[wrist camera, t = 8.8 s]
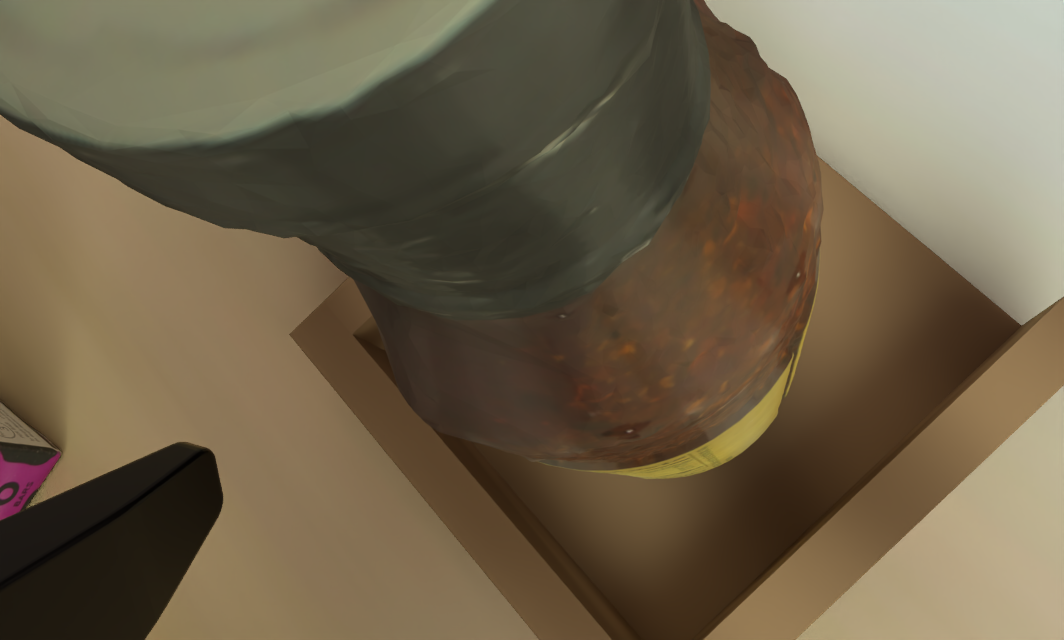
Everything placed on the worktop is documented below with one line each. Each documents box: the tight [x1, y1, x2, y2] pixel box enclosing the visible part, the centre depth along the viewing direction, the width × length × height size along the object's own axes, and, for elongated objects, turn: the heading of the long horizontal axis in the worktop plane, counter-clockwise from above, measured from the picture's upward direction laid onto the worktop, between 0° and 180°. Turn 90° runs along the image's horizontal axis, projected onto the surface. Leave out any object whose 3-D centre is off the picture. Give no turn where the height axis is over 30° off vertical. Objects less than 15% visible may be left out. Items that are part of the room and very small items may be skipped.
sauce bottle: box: [0, 0, 824, 479], centre depth 13 cm, size 7×6×20 cm
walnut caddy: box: [289, 156, 1064, 640], centre depth 22 cm, size 13×13×4 cm
